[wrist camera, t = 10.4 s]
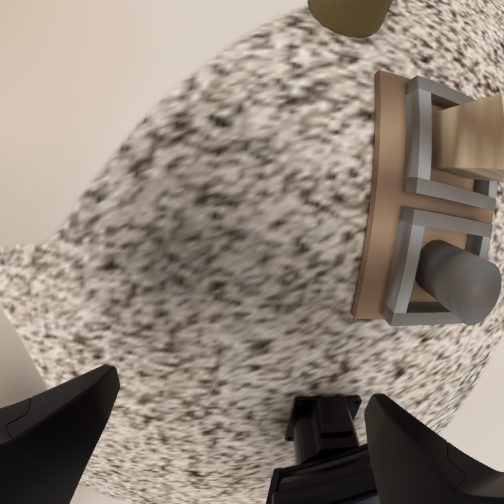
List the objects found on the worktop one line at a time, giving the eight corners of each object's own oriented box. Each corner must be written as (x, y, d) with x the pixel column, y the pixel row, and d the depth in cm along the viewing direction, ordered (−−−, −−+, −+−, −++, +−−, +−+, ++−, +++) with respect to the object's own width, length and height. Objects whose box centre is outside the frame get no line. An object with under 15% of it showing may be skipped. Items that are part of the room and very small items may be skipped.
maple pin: (465, 178, 16) (540, 187, 8) (427, 167, 16) (505, 169, 8) (466, 129, 15) (538, 120, 7) (428, 114, 15) (501, 93, 7)
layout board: (463, 312, 20) (506, 349, 13) (351, 312, 20) (382, 367, 13) (488, 117, 15) (542, 109, 9) (374, 74, 16) (418, 36, 9)
